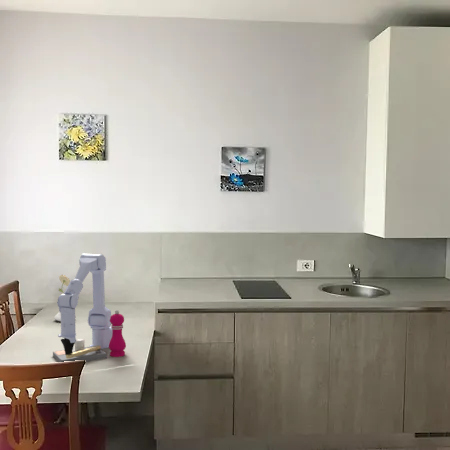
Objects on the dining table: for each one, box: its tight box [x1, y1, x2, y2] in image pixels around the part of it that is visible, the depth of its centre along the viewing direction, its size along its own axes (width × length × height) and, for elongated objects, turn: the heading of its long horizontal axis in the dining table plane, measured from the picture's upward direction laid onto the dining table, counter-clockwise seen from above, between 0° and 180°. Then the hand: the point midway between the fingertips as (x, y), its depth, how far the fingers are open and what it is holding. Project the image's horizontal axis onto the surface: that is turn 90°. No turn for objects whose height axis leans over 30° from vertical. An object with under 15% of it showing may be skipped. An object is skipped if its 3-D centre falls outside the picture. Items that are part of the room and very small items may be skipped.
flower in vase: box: [53, 274, 77, 322], centre depth 311 cm, size 13×11×25 cm
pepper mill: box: [108, 309, 127, 358], centre depth 244 cm, size 7×7×20 cm
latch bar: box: [66, 345, 102, 359], centre depth 236 cm, size 17×2×1 cm, turn 144°
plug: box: [72, 338, 85, 353], centre depth 241 cm, size 6×6×7 cm
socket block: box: [52, 346, 108, 363], centre depth 241 cm, size 19×14×3 cm
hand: (68, 356), depth 232 cm, fingers closed, pressing on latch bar
